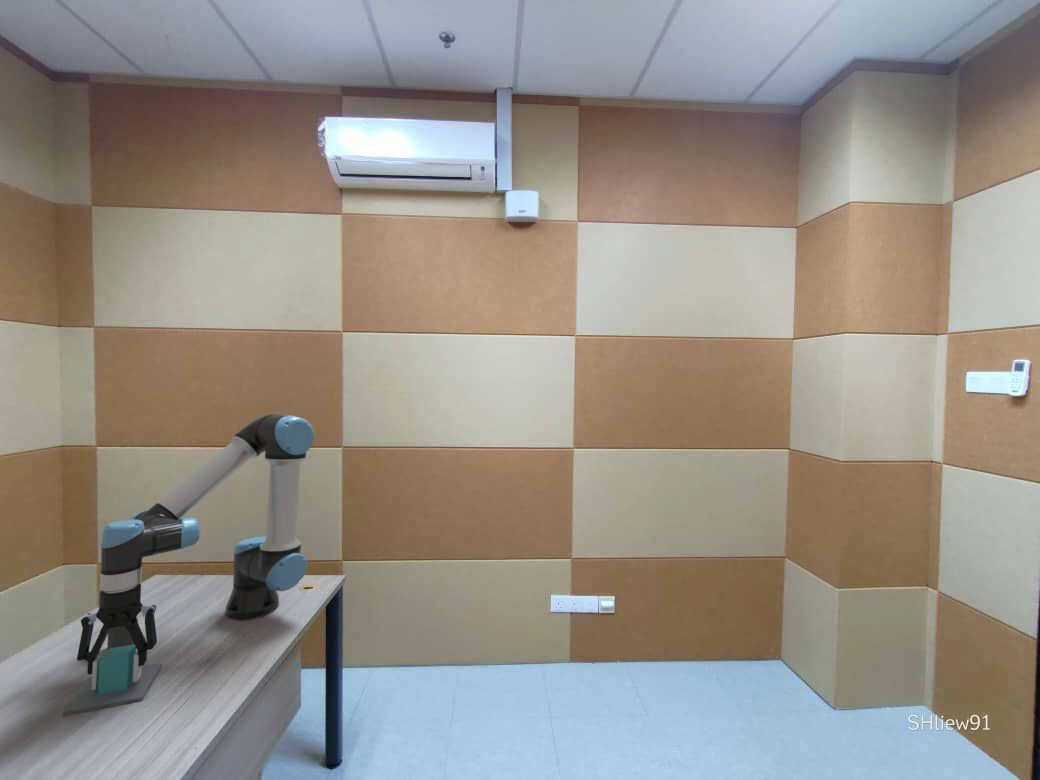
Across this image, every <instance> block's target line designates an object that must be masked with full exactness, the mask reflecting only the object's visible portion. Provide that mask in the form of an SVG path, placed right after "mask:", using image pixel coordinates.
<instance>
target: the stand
mask: <svg viewBox="0 0 1040 780" xmlns="http://www.w3.org/2000/svg"><path fill="white" fill-rule="evenodd" d="M163 664H164V663H163V662H160V663H156V664H150V665H149V664H148V665H145V666H144V665H143V666H141V676H140V678H139V679H138V681H137V682H134V683H133V680H132V682H131V683H130V685H129V686H128V688H127V689H126V690H121V691H116V692H111V693H105V694H100V695H98V687H97V688H96V689H95V690H92V676H90V678H89V679H88V680H87V681H86V683H85V684H84V685H83V686H82V688H81V689H80V690H79V692H78V693H77V694H76V695H75V696H74V698H73V699H72V700H71V701H70V703H69V704H68V705H67V706H66V707H65V709H64V710H63V711H62V717H64V716H68V715H69V716H70V715H74V714H78V713H84V712H89V711H95V710H101V709H105V708H110V707H115V706H122V705H125V704H126V705H127V704H131V703H135V702H136V703H137V702H141V701H143V700H144V698H145V697H146V695H147V693H148V691H149V690H150V688H151V686H152V685H153V683H154V681H155V680H156V679H157V676H158V675H159V673H160V672H161V670H162V667H163Z"/></svg>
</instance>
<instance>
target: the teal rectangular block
mask: <svg viewBox="0 0 1040 780" xmlns="http://www.w3.org/2000/svg"><path fill="white" fill-rule="evenodd" d="M136 652H137V649H136V647H135V645H128V646H122V647H115V648H109V649H108V648H107V650H106V652H105V653H104V654H103V655H102V658H101V659H100V661H99V686H98V695H100V694H105V693H111V692H116V691H121V690H126V689H127V688H128V686H129V685H130V683H131V682H132V680H133V670H134V655H135V654H136Z"/></svg>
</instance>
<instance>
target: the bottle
mask: <svg viewBox="0 0 1040 780" xmlns="http://www.w3.org/2000/svg"><path fill="white" fill-rule="evenodd" d="M136 617H138V615H137V616H136ZM128 645H135V644H134V642H133V640H132V638H131V636H130V634H129V631H128V630H126V628H125V627H115V628H111V629H110V631H109V633H108V635H107V650H108V649H109V648H115V647H122V646H128Z"/></svg>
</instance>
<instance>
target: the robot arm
mask: <svg viewBox="0 0 1040 780" xmlns="http://www.w3.org/2000/svg"><path fill="white" fill-rule="evenodd" d="M314 442H315V431H314V428H313V426H312V425H311V423H310V422H309V421H308V420H306V419H304V418H302V417H298V416H295V415H281V414H266V415H263V416H260V417H257V418H256V419H254V420H253V421H252V422H250V423H248V424H247V425H246V426H245V427H243V428H242V429H240V430H239V431H238V432H237V433H235V435H233V436H232V437H231V442H230V443H228V445H226V446H225V447H224V448H222V449H221V450H220V451H218V452H217V454H215V455H213V456H212V457H211V458H210V459H209V460H208V461H206V462H205V463H204V464H203V465H202V466H200V467H199V468H198V469H197V470H195V471H194V472H193V473H192V474H191V475H189V476H188V477H187V478H186V479H185V480H183V481H182V482H181V483H180V484H178V485H177V486H176V487H175V488H174V489H172V490H171V491H170V492H169V493H168V494H166V495H165V496H163V498H162V499H160V500H159V501H158V502H156V503H155V504H154V505H152V507H150V508H149V509H148V510H142V511H139V512H136V513H134V514H132V516H131V517H129V519H126V520H125V519H124V520H117V521H114V522H111V523H109V524H108V523H107V525H106V526H105V527H103V530H102V535H101V543H100V547H101V548H100V549H101V550H100V555H101V556H100V559H101V560H100V574H99V575H100V576H99V590H100V592H99V598H98V599H99V600H98V602H99V603H98V610H97V612H93V613H91V612H89V613H87V614H86V615H84V617H82V619H81V620H80V625H81V627H82V630H81V635H80V640H79V644H78V645H79V646H78V651H77V656H76V660H77V661H79V662H80V661H86V662H87V676H91V677H92V690H95V689H96V688H97V687H98V686H99V661H100V659H101V658H102V657H103V655H101V654H100V651H101V649H102V647H103V645H104V642H105V641H106V639H107V638H108V633H109V631H110V629H111V628H115V627H125V628H126V630H128V631H129V634H130V636H131V638H132V640H133V642H134V644H135V647H136V654H135V655H134V670H133V683H134V682H137V681H138V679H139V678H140V676H141V667H142V666H144V665H145V664H146V663H147V658H148V657H147V655H148V651H149V650H153V648H154V647H155V646H156V644H158V639H157V630H156V618H155V613H156V610H157V605H155V604H152V605H151V606H144V604H143V603H142V602H141V598H142V597H141V596H142V584H141V582H142V576H143V573H142V571H143V570H142V569H143V559H144V558H147V557H153V556H155V555H159V554H160V555H161V554H164V553H168V552H172V551H177V550H183V549H185V548H189V547H191V546H194V545H196V544H197V543H198V542H199V539H200V537H201V526H200V523H199V522H198V520H197V519H196V518H194V517H185V516H186V515H187V514H188V513H189V512H190V511H192V510H193V509H194V508H195V507H196V506H197V505H198V504H199V503H200V502H202V501H203V500H204V499H205V498H207V496H208V495H210V494H211V493H212V492H214V490H216V488H218V487H220V485H221V484H222V483H224V482H225V481H226V480H227V479H228V478H229V477H231V475H233V474H234V473H235V472H236V471H238V470H239V469H240V468H241V467H242V466H243V465H244V464H245V463H247V462H248V461H249V460H250V459H256V458H258V457H259V455H261V454H263V453H264V460H266V462H268V463H269V477H268V479H269V480H268V493H267V494H268V495H267V510H266V513H267V514H266V528H265V529H266V530H265V535H264V536H257V537H251V538H247V539H244V540H242V541H241V540H240V541H239V542H238V543H236V545H235V546H234V552H233V556H234V557H233V577H232V578H233V582H232V583H233V584H232V586H233V587H232V591H231V592H230V595H229V598H228V601H227V603H226V607H225V616H226V617H227V618H228V619H231V620H234V621H235V620H237V621H243V620H244V621H245V620H252V619H257V618H260V617H264V616H266V615H268V613H269V614H271V613H272V612H274V611H275V610H277V608H278V607H279V605H280V597H279V594H278V592H284V591H285V592H286V591H289V590H290V589H293V588H294V587H296V586H297V585H298V584H299V583H300V581H301V580H302V579H303V578H304V576H305V575H306V572H307V569H308V560H307V559H306V556H304V555H303V553H301V549H302V541H301V540H299V538H298V537H297V528H298V527H297V526H298V513H299V510H298V509H299V508H298V507H299V492H300V475H301V464H302V462H304V460H305V459H306V458H307V452H308V451H310V449H311V447H312V446H313V445H314ZM184 517H185V518H184ZM273 610H274V611H273ZM270 612H271V613H270ZM140 613H142V616H143V617H144V628H145V629H144V630H145V636H144V633H143V632H142V629H141V627H140V624H139V620H138V618H137V617H138V615H139V614H140ZM263 615H264V616H263ZM136 616H137V617H136ZM97 619H98V620H99V621H100V623H102V624H103V625H102V627H101V628H100V630H99V634H98V635H97V638H96V639H95V642H94V644H93V646H92V649H91V651H90V646H91V642H92V638H93V632H94V626H95V622H96V621H97ZM99 654H100V655H99Z"/></svg>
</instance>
